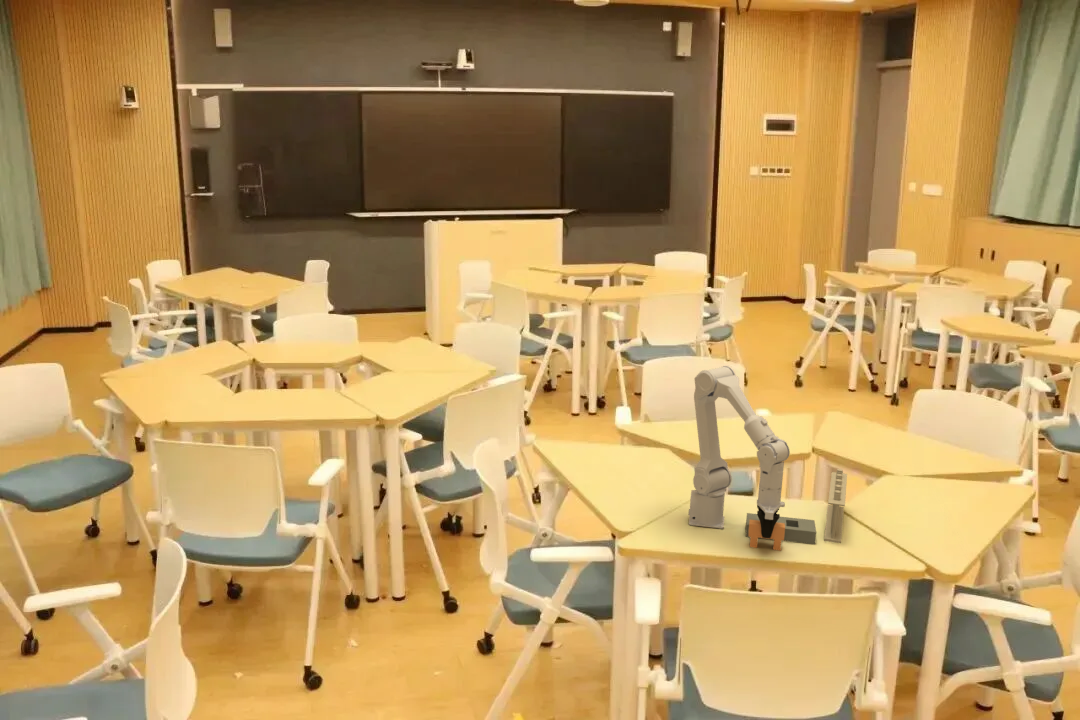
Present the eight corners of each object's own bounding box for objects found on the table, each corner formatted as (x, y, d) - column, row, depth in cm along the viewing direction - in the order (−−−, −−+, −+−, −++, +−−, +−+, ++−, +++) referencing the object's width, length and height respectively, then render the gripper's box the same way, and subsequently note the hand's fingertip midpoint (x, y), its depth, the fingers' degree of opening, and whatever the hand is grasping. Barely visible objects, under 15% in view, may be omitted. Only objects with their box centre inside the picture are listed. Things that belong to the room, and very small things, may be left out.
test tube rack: (841, 543, 243) (846, 497, 240) (823, 541, 245) (828, 494, 241) (843, 509, 266) (848, 466, 263) (827, 507, 267) (832, 464, 264)
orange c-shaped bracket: (747, 546, 240) (749, 524, 238) (747, 542, 242) (749, 519, 241) (782, 550, 238) (785, 527, 236) (782, 546, 241) (784, 523, 239)
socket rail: (745, 536, 246) (746, 524, 245) (745, 524, 253) (746, 512, 253) (815, 544, 242) (816, 532, 241) (813, 532, 250) (814, 520, 249)
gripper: (787, 497, 228) (782, 547, 232) (785, 477, 242) (781, 525, 245) (758, 494, 230) (754, 544, 233) (758, 475, 244) (754, 522, 247)
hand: (766, 534), depth 239 cm, fingers closed on orange c-shaped bracket, 3 cm apart
